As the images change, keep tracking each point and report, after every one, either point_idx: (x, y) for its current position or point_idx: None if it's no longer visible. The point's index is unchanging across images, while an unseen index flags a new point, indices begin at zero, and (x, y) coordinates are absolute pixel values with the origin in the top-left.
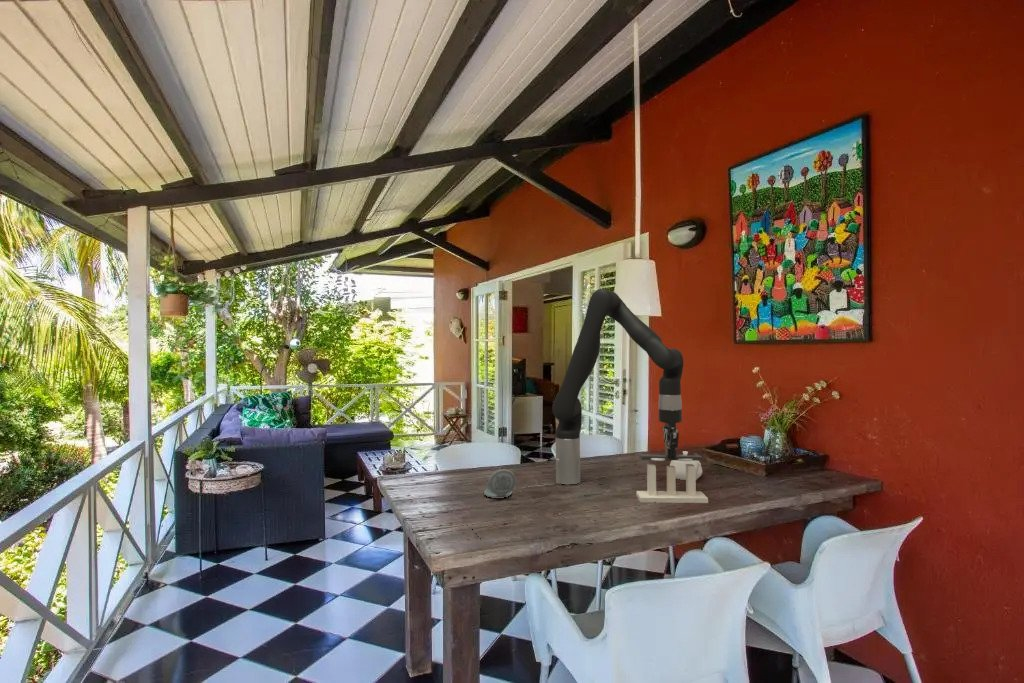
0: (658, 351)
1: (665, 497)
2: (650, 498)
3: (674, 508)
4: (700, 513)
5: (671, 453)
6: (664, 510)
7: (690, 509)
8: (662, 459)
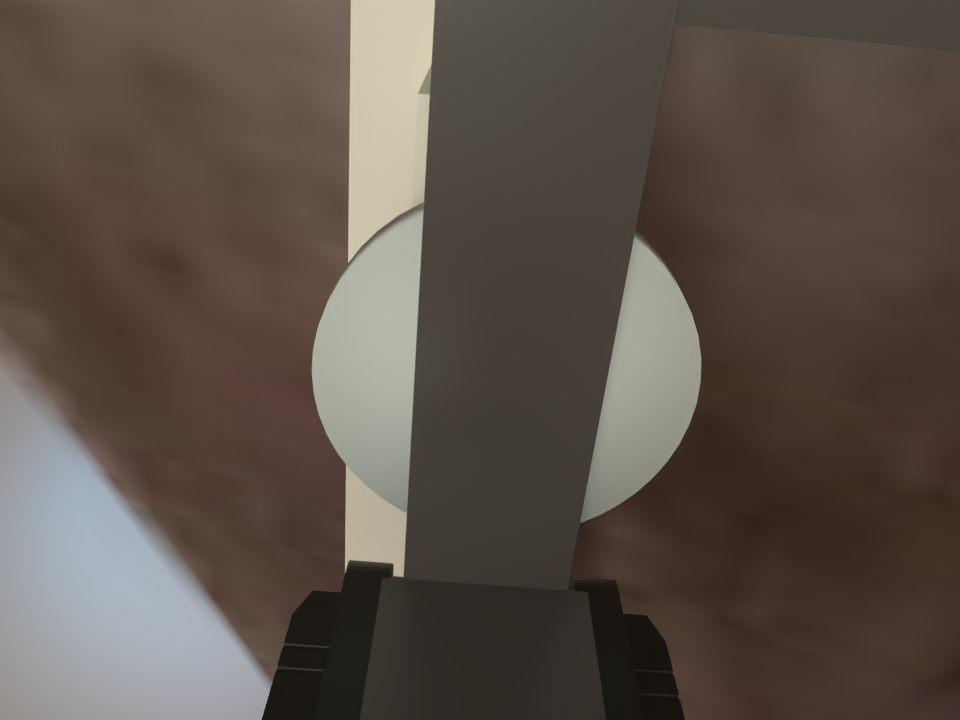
0: None
1: (372, 210)
2: (352, 14)
3: (161, 219)
4: (44, 398)
5: (272, 703)
6: (74, 91)
7: (150, 355)
8: (336, 442)
